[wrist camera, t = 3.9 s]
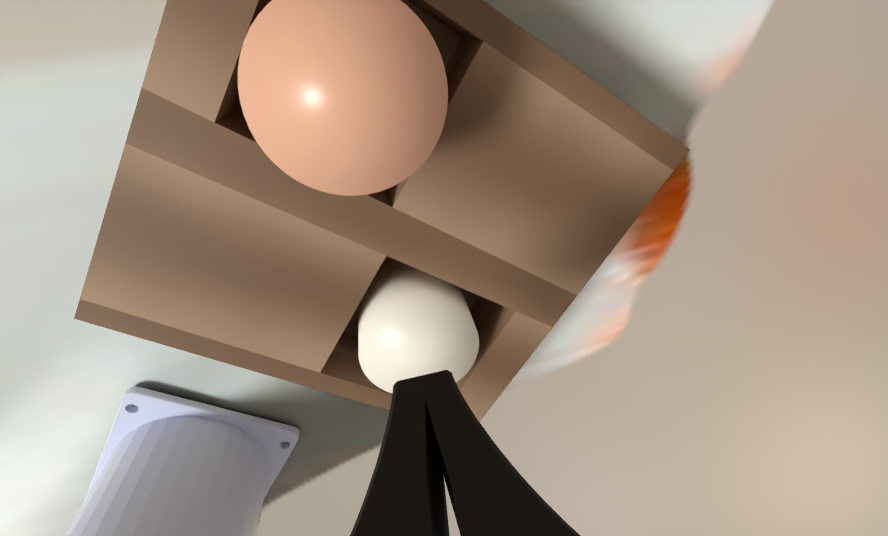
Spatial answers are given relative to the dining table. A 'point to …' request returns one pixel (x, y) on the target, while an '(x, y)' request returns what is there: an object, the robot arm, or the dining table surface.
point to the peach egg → (343, 92)
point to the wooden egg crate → (365, 206)
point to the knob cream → (413, 327)
